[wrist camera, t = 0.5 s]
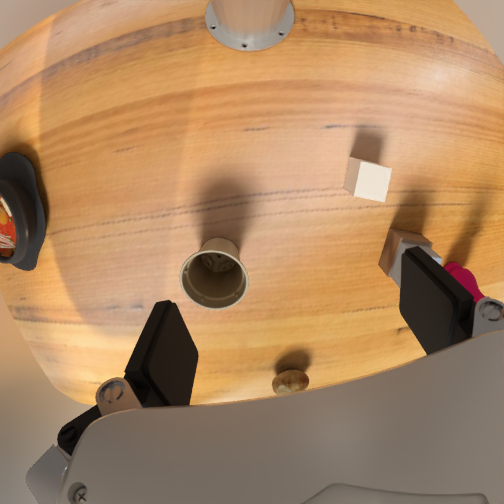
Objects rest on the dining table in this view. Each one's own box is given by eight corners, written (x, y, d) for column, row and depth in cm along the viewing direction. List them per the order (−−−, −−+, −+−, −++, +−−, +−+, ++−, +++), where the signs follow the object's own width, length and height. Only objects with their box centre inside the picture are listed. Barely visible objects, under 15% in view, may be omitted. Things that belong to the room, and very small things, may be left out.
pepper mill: (456, 252, 46) (517, 308, 28) (464, 275, 48) (518, 330, 30) (431, 274, 48) (487, 338, 30) (441, 296, 50) (490, 357, 32)
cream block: (349, 156, 39) (361, 160, 35) (378, 163, 40) (392, 168, 35) (343, 187, 42) (353, 196, 37) (371, 193, 42) (384, 202, 37)
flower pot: (212, 215, 43) (203, 236, 36) (260, 249, 46) (262, 276, 38) (180, 258, 46) (167, 286, 39) (226, 289, 49) (222, 320, 41)
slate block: (401, 242, 41) (414, 254, 36) (428, 246, 41) (442, 258, 37) (389, 275, 43) (401, 289, 39) (417, 278, 43) (429, 291, 39)
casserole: (53, 277, 48) (32, 298, 41) (-1, 253, 46) (-23, 270, 38) (55, 155, 38) (25, 164, 31) (-4, 146, 36) (-32, 154, 28)
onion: (313, 374, 59) (319, 401, 52) (283, 388, 61) (286, 415, 53) (296, 356, 56) (301, 385, 49) (264, 372, 58) (266, 401, 51)
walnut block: (389, 227, 44) (400, 237, 40) (420, 233, 45) (432, 243, 41) (377, 264, 47) (387, 276, 43) (408, 267, 48) (419, 279, 44)
